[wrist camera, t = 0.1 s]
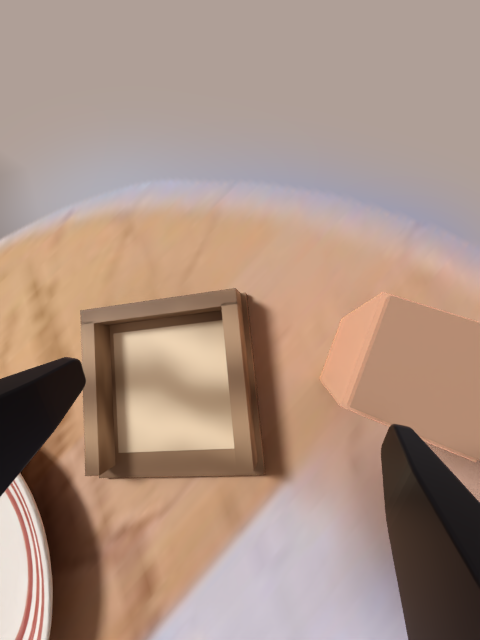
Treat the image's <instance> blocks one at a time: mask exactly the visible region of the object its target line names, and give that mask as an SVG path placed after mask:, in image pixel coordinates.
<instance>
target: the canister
mask: <svg viewBox="0 0 480 640" xmlns="http://www.w3.org/2000/svg"><path fill="white" fill-rule="evenodd" d="M319 379H320V381H321V382H322V383H323V385H324V386H325V387H326V389H327V390H328V391H329V392H330V394H331V395H332V396H333V398H334V399H335V400H336V402H337V403H338V404H339V405H340V407H342V408H345V409H347V410H350V411H352V412H354V413H357V414H359V415H362V416H364V417H367V418H369V419H371V420H374V421H376V422H379V423H381V424H384V425H386V426H388V427H390V426H391V424H399V425H404V426H408V427H410V428H412V429H413V430H414V431H415V432H416V433H417V434H418V436H419V437H420V438H421V439H422V440H423V441H425V442H427V443H430V444H432V445H434V446H437V447H439V448H442V449H444V450H447V451H449V452H451V453H454V454H456V455H459V456H461V457H464V458H466V459H468V460H471V461H473V462H476V461H477V459H478V460H480V322H478V321H475V320H472V319H468V318H465V317H462V316H459V315H456V314H452V313H449V312H446V311H443V310H440V309H436V308H433V307H430V306H427V305H424V304H420V303H417V302H414V301H411V300H407V299H404V298H401V297H398V296H395V295H391V294H388V293H385V292H382V293H380V294H379V295H377V296H376V297H374V298H372V299H371V300H369V301H368V302H366V303H365V304H363V305H362V306H360V307H359V308H357V309H355V310H354V311H352V312H351V313H349V314H348V315H346V316H345V317H343V318H342V319H341V322H340V324H339V327H338V330H337V333H336V335H335V338H334V341H333V343H332V346H331V349H330V351H329V354H328V357H327V360H326V362H325V365H324V368H323V370H322V373H321V376H320V378H319Z"/></svg>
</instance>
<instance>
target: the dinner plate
mask: <svg viewBox="0 0 480 640" xmlns="http://www.w3.org/2000/svg"><path fill="white" fill-rule="evenodd" d="M52 606H53V586H52V571H51V562H50V554H49V548H48V543H47V538H46V533H45V529H44V526H43V522H42V519H41V516H40V513H39V511H38V508H37V505H36V503H35V500H34V498H33V495H32V493H31V491H30V489H29V487H28V485H27V484H26V482H25V480H24V478H23V477H22V475H21V473H20V474H19V475H18V476H17V477H16V478H15V480H14V481H13V482H12V483H11V485H10V486H9V487H8V488H7V489H6V491H5V492H4V493H3V494H2V496H1V497H0V640H49V636H50V629H51V622H52Z"/></svg>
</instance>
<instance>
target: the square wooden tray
mask: <svg viewBox="0 0 480 640" xmlns="http://www.w3.org/2000/svg"><path fill="white" fill-rule="evenodd" d="M80 314H81V347H82V367H83V371H84V374H85V378H86V384H85V387H84V388H83V412H84V444H85V476H99V478H128V477H180V476H233V475H264V474H265V465H264V456H263V446H262V437H261V427H260V417H259V408H258V398H257V389H256V379H255V369H254V360H253V350H252V340H251V331H250V321H249V312H248V302H247V294H246V293H240V292H239V291H238V290H237V289H236V288H233V289H226V290H219V291H212V292H205V293H198V294H191V295H185V296H178V297H171V298H164V299H157V300H150V301H143V302H136V303H129V304H122V305H115V306H108V307H101V308H94V309H87V310H80Z"/></svg>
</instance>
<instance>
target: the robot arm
mask: <svg viewBox="0 0 480 640" xmlns="http://www.w3.org/2000/svg"><path fill="white" fill-rule="evenodd" d="M85 384H86V378H85V374H84V371H83V367H82V364H81V362H80V361H79V360H78V359H75V358H70V357H64V358H61V359H58V360H55V361H52V362H49V363H46V364H43V365H40V366H37V367H34V368H31V369H28V370H25V371H22V372H19V373H17V374H14V375H11V376H8V377H5V378H2V379H0V497H1V496H2V494H3V493H4V492H5V491H6V489H7V488H8V487H9V486H10V485H11V483H12V482H13V481H14V480H15V478H16V477H17V476H18V475H19V474H20V472H21V471H22V470H23V469H24V467H25V466H26V465H27V464H28V463H29V461H30V460H31V459H32V458H33V456H34V455H35V454H36V453H37V452H38V450H39V449H40V448H41V447H42V445H43V444H44V443H45V442H46V441H47V439H48V438H49V437H50V436H51V434H52V433H53V432H54V430H55V429H56V428H57V426H58V425H59V423H60V422H61V421H62V419H63V418H64V416H65V415H66V413H67V412H68V410H69V409H70V407H71V406H72V405H73V403H74V402H75V400H76V399H77V397H78V396H79V394H80V393H81V391H82V390H83V388H84V387H85ZM381 461H382V474H383V487H384V500H385V512H386V521H387V527H388V533H389V539H390V544H391V549H392V555H393V560H394V565H395V571H396V576H397V581H398V587H399V592H400V597H401V603H402V608H403V613H404V619H405V624H406V629H407V635H408V640H480V502H479V501H478V500H477V499H476V498H475V497H474V496H473V495H472V494H471V492H470V491H469V490H468V489H467V488H466V487H465V486H464V485H463V484H462V483H461V482H460V480H459V479H458V478H457V477H456V476H455V475H454V474H453V473H452V472H451V471H450V469H449V468H448V467H447V466H446V465H445V464H444V463H443V462H442V461H441V460H440V459H439V457H438V456H437V455H436V454H435V453H434V452H433V451H432V450H431V449H430V448H429V446H428V445H427V444H426V443H425V442H424V441H423V440H422V439H421V438H420V437H419V436H418V434H417V433H416V432H415V431H414V430H413V429H412V428H410V427H408V426H404V425H399V424H391V426H390V427H389V429H388V432H387V434H386V437H385V439H384V441H383V444H382V448H381Z"/></svg>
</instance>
